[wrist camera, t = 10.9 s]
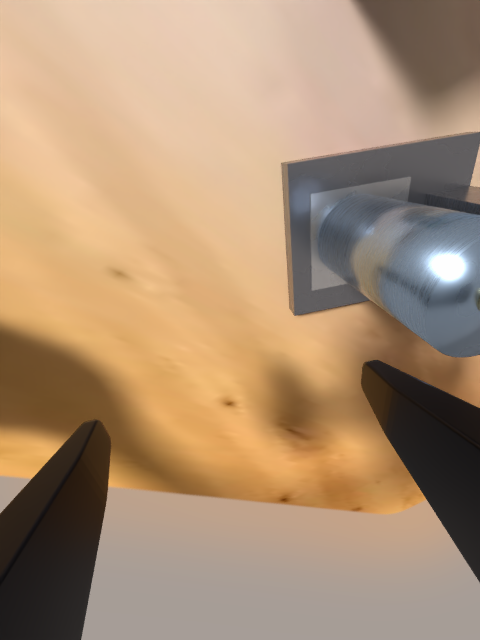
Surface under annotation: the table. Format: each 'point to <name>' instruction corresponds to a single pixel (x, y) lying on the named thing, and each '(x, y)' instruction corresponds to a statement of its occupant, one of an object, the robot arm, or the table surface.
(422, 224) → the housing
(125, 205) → the table surface
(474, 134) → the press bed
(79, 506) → the robot arm
